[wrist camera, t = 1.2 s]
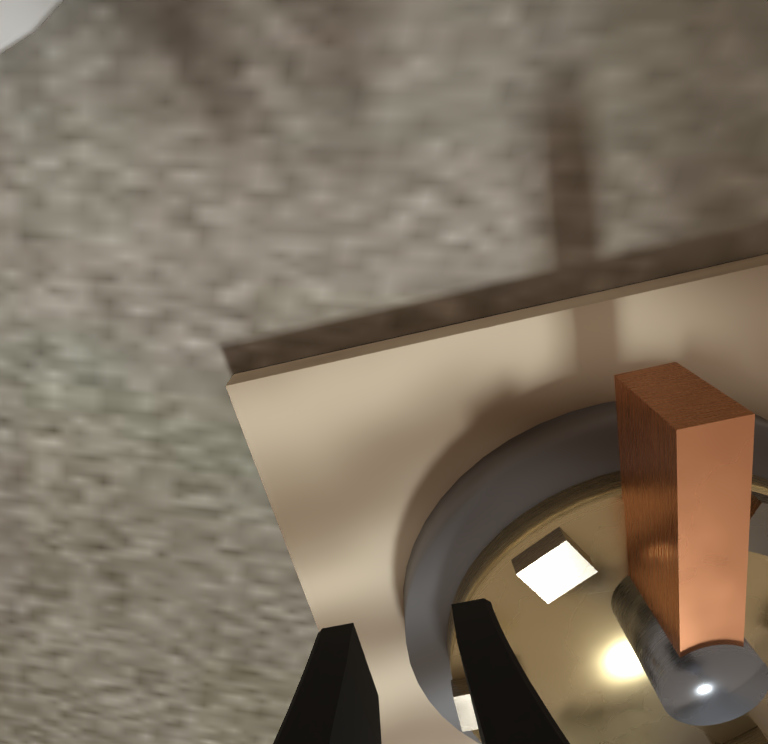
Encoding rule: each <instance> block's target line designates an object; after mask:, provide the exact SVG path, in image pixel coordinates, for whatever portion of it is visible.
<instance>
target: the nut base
mask: <svg viewBox="0 0 768 744" xmlns="http://www.w3.org/2000/svg"><path fill="white" fill-rule="evenodd" d="M672 362H677V363H678V364H680V365H681V366H683V367H685V368H686V369H688V370H689V371H691V372H692V373H694V374H695V375H697V376H698V377H700V378H701V379H703V380H704V381H706V382H707V383H709V384H710V385H712V386H713V387H715V388H716V389H718V390H720V391H721V392H723V393H724V394H726V395H727V396H729V397H730V398H732V399H733V400H735V401H736V402H738V403H739V404H741V405H742V406H744V407H745V408H747V409H748V410H750V411H751V412H753V413H755V425H754V445H753V466H752V474H754V475H756V476H759V477H762V478H765V479H767V480H768V254H765V255H761V256H757V257H752V258H748V259H743V260H739V261H734V262H730V263H725V264H721V265H717V266H712V267H708V268H703V269H699V270H694V271H690V272H686V273H681V274H677V275H672V276H668V277H663V278H659V279H654V280H650V281H646V282H641V283H637V284H632V285H628V286H623V287H619V288H614V289H610V290H606V291H601V292H597V293H592V294H588V295H583V296H579V297H575V298H570V299H566V300H561V301H557V302H552V303H548V304H543V305H539V306H535V307H530V308H526V309H521V310H517V311H512V312H508V313H503V314H499V315H495V316H490V317H486V318H481V319H477V320H472V321H468V322H464V323H459V324H455V325H450V326H446V327H441V328H437V329H432V330H428V331H424V332H419V333H415V334H410V335H406V336H401V337H397V338H393V339H388V340H384V341H379V342H375V343H370V344H366V345H361V346H357V347H353V348H348V349H344V350H339V351H335V352H330V353H326V354H321V355H317V356H313V357H308V358H304V359H299V360H295V361H290V362H286V363H282V364H277V365H273V366H268V367H264V368H259V369H255V370H250V371H246V372H242V373H237V374H233V376H232V377H231V379H230V380H229V382H228V383H227V385H226V388H227V391H228V394H229V396H230V399H231V402H232V404H233V407H234V409H235V412H236V415H237V417H238V420H239V423H240V425H241V428H242V430H243V433H244V436H245V438H246V441H247V443H248V446H249V449H250V451H251V454H252V457H253V459H254V462H255V464H256V467H257V470H258V472H259V475H260V478H261V480H262V483H263V485H264V488H265V491H266V493H267V496H268V499H269V501H270V504H271V506H272V509H273V512H274V514H275V517H276V519H277V522H278V525H279V527H280V530H281V533H282V535H283V538H284V540H285V543H286V546H287V548H288V551H289V554H290V556H291V559H292V561H293V564H294V567H295V569H296V572H297V575H298V577H299V580H300V582H301V585H302V588H303V590H304V593H305V596H306V598H307V601H308V603H309V606H310V609H311V611H312V614H313V616H314V619H315V622H316V624H317V627H318V630H319V632H320V630H321V629H322V628H327V627H333V626H338V625H343V624H349V623H354V626H355V629H356V632H357V635H358V638H359V641H360V643H361V646H362V649H363V652H364V655H365V658H366V661H367V664H368V667H369V670H370V673H371V675H372V678H373V681H374V684H375V687H376V690H377V693H378V696H379V710H380V725H381V742H382V744H482V743H481V742H480V741H479V739H478V738H477V737H476V736H475V735H474V734H473V732H472V731H465V732H462V729H461V725H460V721H459V717H458V714H457V710H456V706H455V702H454V698H453V693H452V686H451V680H452V674H451V668H450V661H449V655H448V648H447V625H448V620H449V615H450V610H451V604H452V603H453V600H454V597H455V595H456V592H457V589H458V587H459V585H460V583H461V582H462V580H463V578H464V576H465V574H466V573H467V571H468V569H469V567H470V566H471V565H472V563H473V562H474V561H475V559H476V558H477V557H478V556H479V554H480V553H481V552H482V550H483V549H484V548H485V547H486V546H487V545H488V544H489V543H490V542H491V541H492V540H493V539H494V538H495V537H496V536H497V535H498V534H499V533H500V532H501V531H502V530H503V529H504V528H505V527H507V526H508V525H509V524H510V523H512V522H513V521H514V520H515V519H517V518H518V517H519V516H520V515H522V514H523V513H524V512H526V511H528V510H529V509H531V508H532V507H534V506H536V505H537V504H539V503H540V502H542V501H543V500H545V499H547V498H549V497H551V496H553V495H555V494H557V493H559V492H561V491H563V490H565V489H567V488H569V487H571V486H573V485H576V484H579V483H582V482H584V481H587V480H590V479H592V478H595V477H598V476H601V475H604V474H608V473H612V472H616V471H620V458H619V443H618V427H617V412H616V397H615V381H614V375H616V374H621V373H626V372H630V371H635V370H640V369H644V368H649V367H654V366H658V365H663V364H668V363H672Z"/></svg>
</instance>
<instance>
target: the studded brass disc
mask: <svg viewBox="0 0 768 744" xmlns="http://www.w3.org/2000/svg"><path fill="white" fill-rule="evenodd" d="M614 381H615V397H616V412H617V427H618V443H619V458H620V471H616V472H612V473H608V474H604V475H601V476H598V477H595V478H592V479H590V480H587V481H584V482H582V483H579V484H576V485H573V486H571V487H569V488H567V489H565V490H563V491H561V492H559V493H557V494H555V495H553V496H551V497H549V498H547V499H545V500H543V501H542V502H540V503H539V504H537V505H536V506H534V507H532V508H531V509H529V510H528V511H526V512H524V513H523V514H522V515H520V516H519V517H518V518H517V519H515V520H514V521H513V522H512V523H510V524H509V525H508V526H507V527H505V528H504V529H503V530H502V531H501V532H500V533H499V534H498V535H497V536H496V537H495V538H494V539H493V540H492V541H491V542H490V543H489V544H488V545H487V546H486V547H485V548H484V549H483V550H482V552H481V553H480V554H479V556H478V557H477V558H476V559H475V561H474V562H473V563H472V565H471V566H470V567H469V569H468V571H467V573H466V574H465V576H464V578H463V580H462V582H461V583H460V585H459V587H458V589H457V592H456V595H455V597H454V600H453V603H452V604H456V603H461V602H466V601H472V600H477V599H482V598H485V599H486V600H488V601H490V602H491V604H492V607H493V610H494V612H495V615H496V617H497V619H498V622H499V624H500V626H501V628H502V630H503V633H504V635H505V637H506V639H507V641H508V643H509V645H510V647H511V648H512V650H513V652H514V654H515V656H516V657H517V659H518V661H519V663H520V665H521V667H522V668H523V670H524V672H525V673H526V675H527V677H528V679H529V680H530V682H531V684H532V685H533V687H534V688H535V690H536V692H537V693H538V695H539V696H540V698H541V700H542V701H543V703H544V704H545V706H546V708H547V709H548V711H549V712H550V714H551V715H552V717H553V719H554V720H555V722H556V723H557V725H558V726H559V728H560V729H561V731H562V732H563V734H564V735H565V737H566V738H567V740H568V741H569V743H570V744H768V480H767V479H765V478H762V477H759V476H756V475H754V474H752V466H753V445H754V425H755V413H753V412H751V411H750V410H748V409H747V408H745V407H744V406H742V405H741V404H739V403H738V402H736V401H735V400H733V399H732V398H730V397H729V396H727V395H726V394H724V393H723V392H721V391H720V390H718V389H716V388H715V387H713V386H712V385H710V384H709V383H707V382H706V381H704V380H703V379H701V378H700V377H698V376H697V375H695V374H694V373H692V372H691V371H689V370H688V369H686V368H685V367H683V366H681V365H680V364H678V363H677V362H672V363H668V364H663V365H658V366H654V367H649V368H644V369H640V370H635V371H630V372H626V373H621V374H616V375H614ZM447 648H448V655H449V661H450V668H451V674H452V680H451V686H452V693H453V698H454V702H455V706H456V710H457V714H458V717H459V721H460V725H461V729H462V732H465V731H472V732H473V734H474V735H475V736H476V737H477V738H478V739H479V741H480V742H481V738H480V734H479V730H478V726H477V722H476V717H475V713H474V709H473V705H472V701H471V697H470V693H469V689H468V685H467V681H466V677H465V672H464V668H463V664H462V660H461V656H460V652H459V648H458V644H457V638H456V632H455V626H454V619H453V612H452V606H451V610H450V615H449V620H448V625H447ZM481 743H482V742H481Z"/></svg>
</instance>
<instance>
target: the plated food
mask: <svg viewBox="0 0 768 744" xmlns="http://www.w3.org/2000/svg"><path fill="white" fill-rule="evenodd" d="M63 1H64V0H0V54H1V53H3V52H4V51H6V50H7V49H9V48H10V47H12V46H14V45H15V44H17V43H18V42H20V41H21V40H23V39H25V38H26V37H28V36H29V35H31V34H32V33H34V32H35V31H36V30H37V29H38V28H39V27H40V26H41V25H42V24H43V23H44V21H45V20H46V19H47V18H48V17H49V16H50V15H51V14H52V13H53V12H54V11H55V10H56V8H57V7H58V6H59V5H60V4H61V3H62V2H63Z"/></svg>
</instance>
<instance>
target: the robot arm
mask: <svg viewBox="0 0 768 744" xmlns="http://www.w3.org/2000/svg"><path fill="white" fill-rule="evenodd" d="M451 606H452V612H453V619H454V626H455V632H456V638H457V644H458V648H459V652H460V656H461V660H462V664H463V668H464V672H465V677H466V681H467V685H468V689H469V693H470V697H471V701H472V705H473V709H474V713H475V717H476V722H477V726H478V730H479V734H480V738H481V742H482V744H570V743H569V741H568V740H567V738H566V737H565V735H564V734H563V732H562V731H561V729H560V728H559V726H558V725H557V723H556V722H555V720H554V719H553V717H552V715H551V714H550V712H549V711H548V709H547V708H546V706H545V704H544V703H543V701H542V700H541V698H540V696H539V695H538V693H537V692H536V690H535V688H534V687H533V685H532V684H531V682H530V680H529V679H528V677H527V675H526V673H525V672H524V670H523V668H522V667H521V665H520V663H519V661H518V659H517V657H516V656H515V654H514V652H513V650H512V648H511V647H510V645H509V643H508V641H507V639H506V637H505V635H504V633H503V630H502V628H501V626H500V624H499V622H498V619H497V617H496V615H495V612H494V610H493V607H492V604H491V602H490V601H488V600H486V599H485V598H482V599H477V600H472V601H466V602H461V603H456V604H451ZM273 744H382V742H381V725H380V710H379V696H378V693H377V690H376V687H375V684H374V681H373V678H372V675H371V673H370V670H369V667H368V664H367V661H366V658H365V655H364V652H363V649H362V646H361V643H360V641H359V638H358V635H357V632H356V629H355V626H354V623H349V624H343V625H338V626H333V627H327V628H322V629H321V630H320V632H319V633H318V635H317V638H316V640H315V643H314V646H313V649H312V651H311V654H310V657H309V659H308V662H307V664H306V667H305V670H304V672H303V675H302V677H301V680H300V682H299V685H298V687H297V690H296V692H295V694H294V697H293V699H292V702H291V704H290V707H289V709H288V711H287V714H286V716H285V718H284V720H283V723H282V725H281V727H280V729H279V732H278V734H277V736H276V738H275V741H274V743H273Z"/></svg>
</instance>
